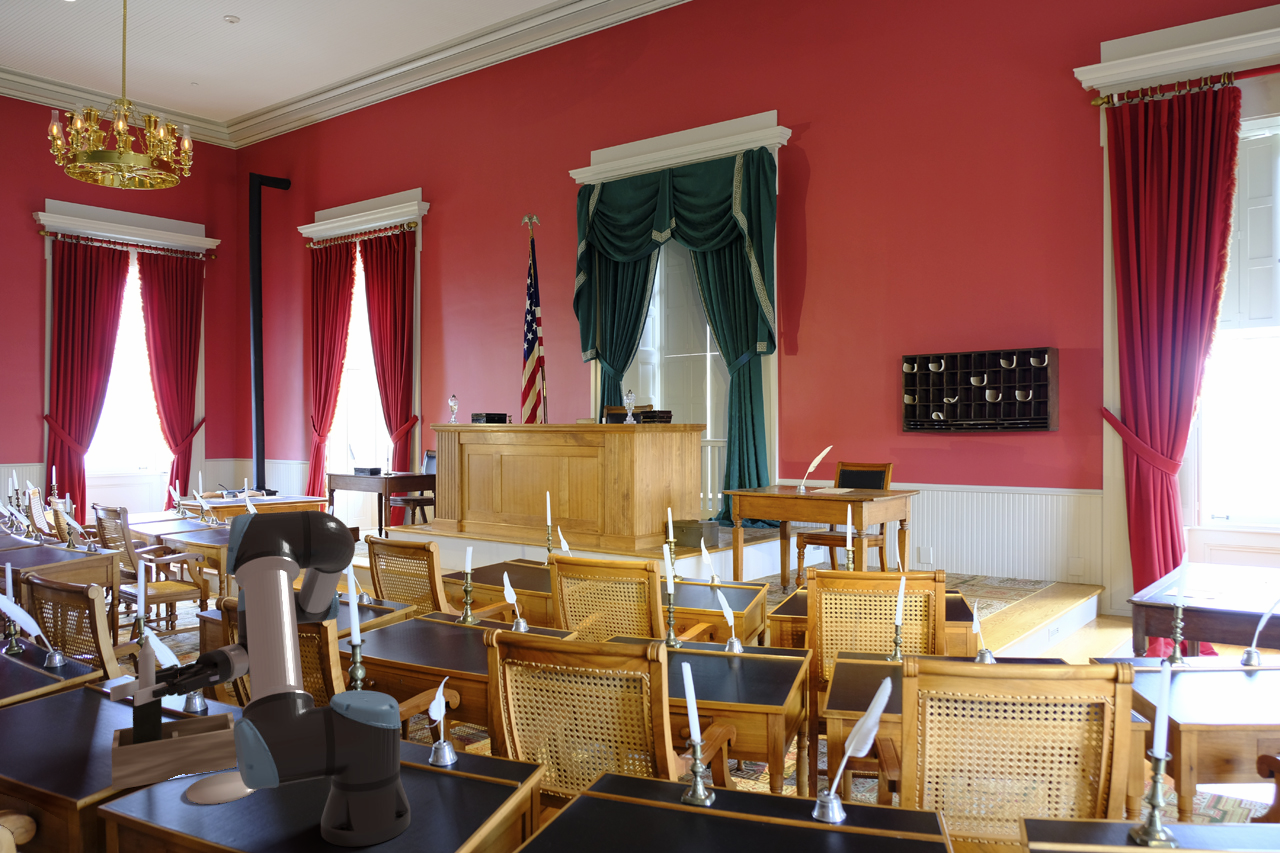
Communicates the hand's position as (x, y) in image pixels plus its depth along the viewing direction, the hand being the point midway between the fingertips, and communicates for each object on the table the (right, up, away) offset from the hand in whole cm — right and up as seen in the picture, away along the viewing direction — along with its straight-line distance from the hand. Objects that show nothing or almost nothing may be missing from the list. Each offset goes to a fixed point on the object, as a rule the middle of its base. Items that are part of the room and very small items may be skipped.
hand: (123, 696), depth 171 cm
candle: (+2, -14, +5) cm, 15 cm away
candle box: (+6, -17, +7) cm, 20 cm away
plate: (+21, -17, -3) cm, 27 cm away
